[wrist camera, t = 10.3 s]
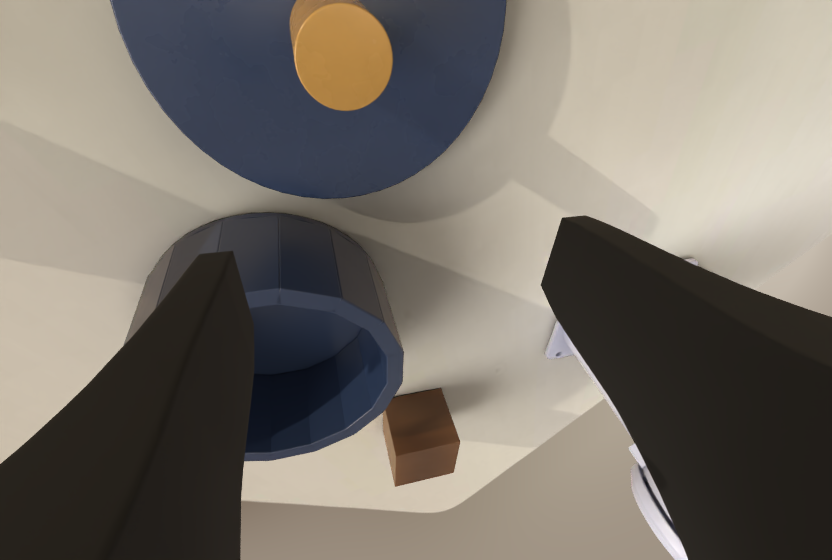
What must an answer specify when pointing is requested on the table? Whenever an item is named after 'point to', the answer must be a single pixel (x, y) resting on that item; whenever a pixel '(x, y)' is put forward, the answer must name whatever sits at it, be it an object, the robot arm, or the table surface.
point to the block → (420, 437)
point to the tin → (299, 327)
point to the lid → (316, 83)
